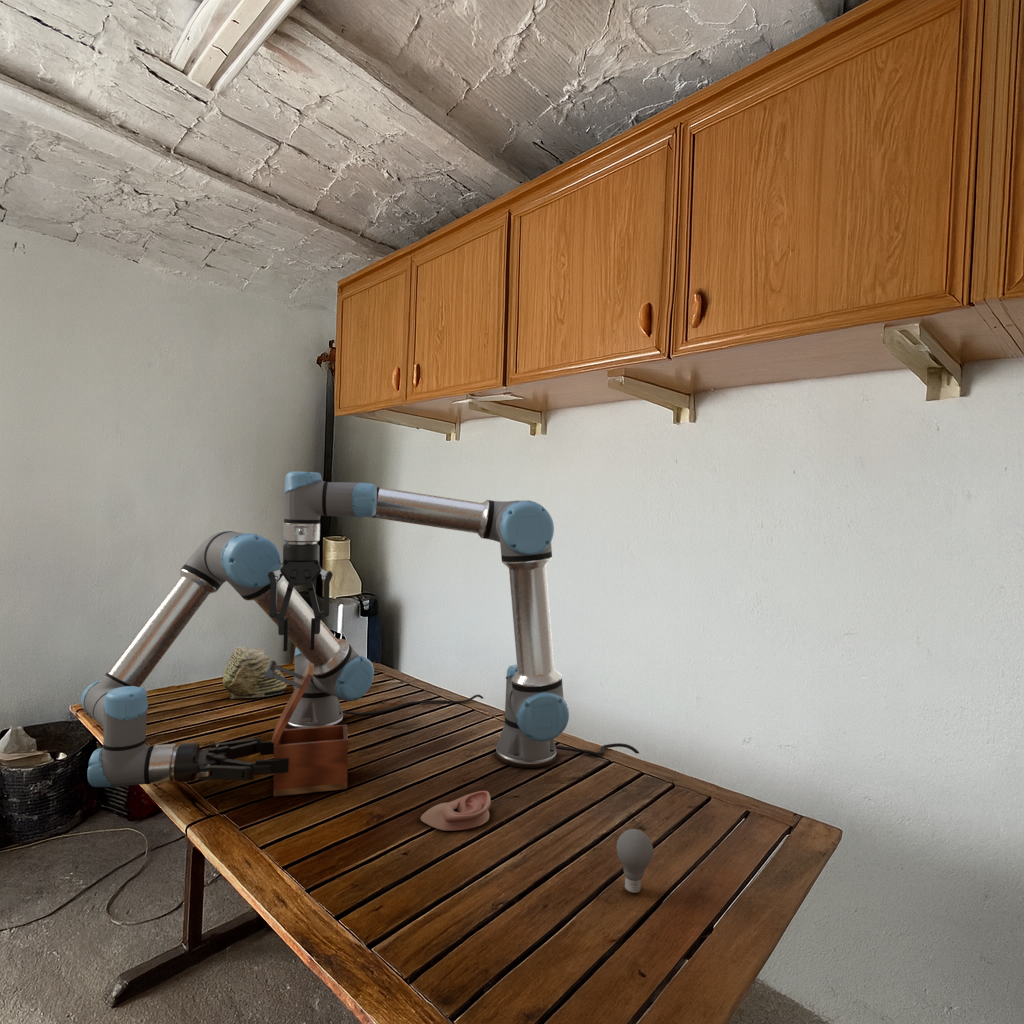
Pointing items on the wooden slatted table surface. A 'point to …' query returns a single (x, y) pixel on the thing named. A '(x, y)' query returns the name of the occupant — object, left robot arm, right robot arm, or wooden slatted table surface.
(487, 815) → the anatomical model
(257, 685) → the fossil
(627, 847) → the light bulb
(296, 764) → the chest
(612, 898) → the wooden slatted table surface
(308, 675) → the lid
